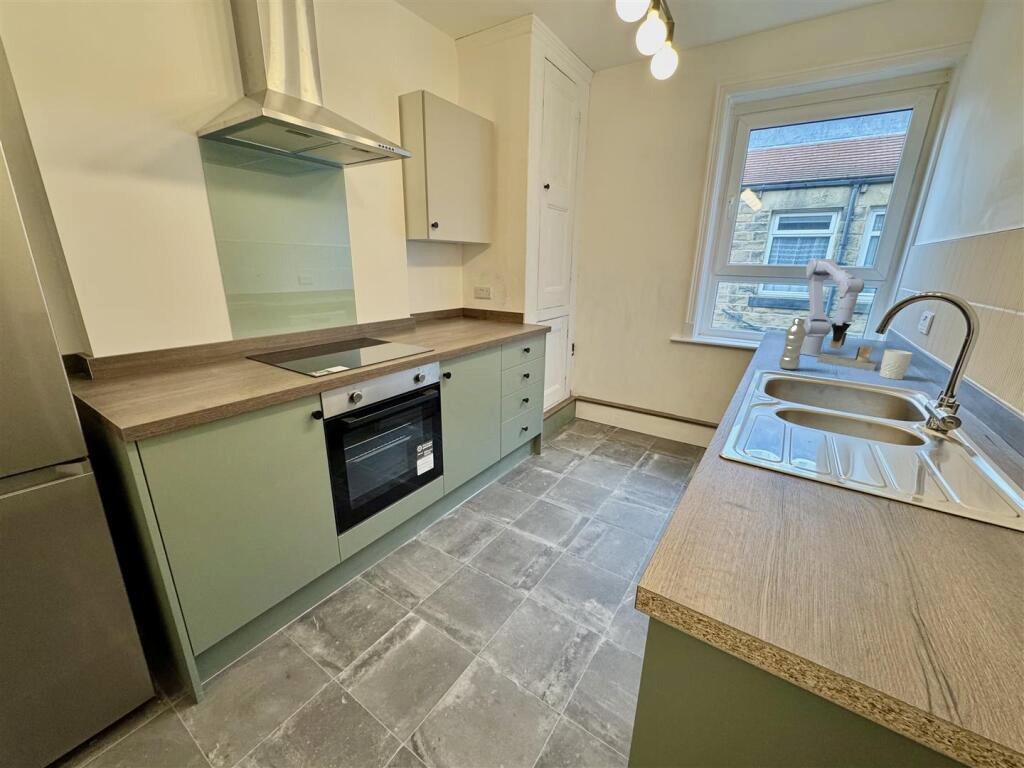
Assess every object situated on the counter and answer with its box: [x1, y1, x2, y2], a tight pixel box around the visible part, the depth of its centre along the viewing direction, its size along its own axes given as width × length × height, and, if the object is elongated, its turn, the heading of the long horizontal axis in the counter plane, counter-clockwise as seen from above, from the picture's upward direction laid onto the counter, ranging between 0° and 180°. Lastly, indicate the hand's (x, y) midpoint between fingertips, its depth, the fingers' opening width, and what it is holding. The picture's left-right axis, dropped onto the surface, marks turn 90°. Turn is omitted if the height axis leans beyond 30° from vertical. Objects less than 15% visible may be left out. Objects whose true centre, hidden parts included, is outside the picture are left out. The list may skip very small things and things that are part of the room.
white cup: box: [878, 349, 914, 380], centre depth 154 cm, size 8×8×10 cm
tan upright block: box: [855, 345, 873, 363], centre depth 168 cm, size 4×4×7 cm
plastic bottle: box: [778, 317, 806, 370], centre depth 160 cm, size 6×7×20 cm
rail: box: [816, 353, 878, 372], centre depth 173 cm, size 19×8×3 cm, turn 45°
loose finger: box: [829, 331, 848, 350], centre depth 173 cm, size 4×4×7 cm
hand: (837, 340), depth 173 cm, fingers closed on loose finger, 4 cm apart
